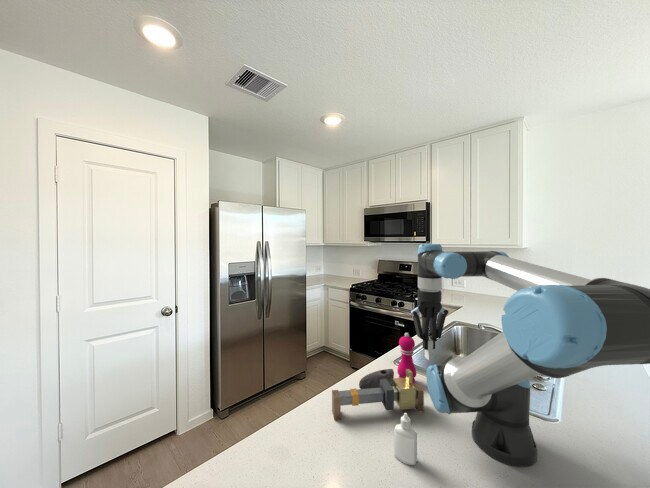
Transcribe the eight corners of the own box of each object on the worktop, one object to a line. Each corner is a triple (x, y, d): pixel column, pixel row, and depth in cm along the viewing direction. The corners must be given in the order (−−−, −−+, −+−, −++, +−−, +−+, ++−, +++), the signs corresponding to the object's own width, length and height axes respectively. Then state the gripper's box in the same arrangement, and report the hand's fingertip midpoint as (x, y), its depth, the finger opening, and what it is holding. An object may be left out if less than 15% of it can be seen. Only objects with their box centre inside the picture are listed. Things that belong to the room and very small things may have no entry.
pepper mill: (417, 388, 101) (417, 336, 100) (397, 386, 102) (398, 335, 101) (415, 378, 108) (415, 330, 107) (396, 377, 109) (396, 329, 109)
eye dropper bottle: (407, 470, 66) (407, 423, 65) (391, 454, 71) (391, 409, 70) (419, 463, 68) (420, 417, 67) (403, 447, 73) (403, 405, 72)
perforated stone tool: (361, 397, 96) (361, 378, 96) (356, 388, 101) (356, 371, 101) (398, 390, 100) (398, 372, 99) (391, 383, 105) (391, 365, 104)
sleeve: (406, 395, 92) (406, 366, 92) (415, 408, 86) (415, 376, 86) (392, 397, 92) (392, 367, 92) (400, 409, 85) (400, 377, 85)
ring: (386, 397, 92) (386, 378, 91) (393, 410, 85) (393, 389, 85) (379, 398, 91) (379, 379, 91) (386, 410, 85) (386, 390, 85)
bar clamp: (417, 403, 92) (417, 382, 92) (423, 411, 88) (423, 390, 87) (332, 410, 88) (332, 389, 88) (334, 420, 84) (334, 397, 83)
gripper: (441, 286, 94) (440, 352, 95) (406, 287, 92) (405, 354, 93) (454, 291, 86) (453, 362, 87) (416, 292, 85) (415, 365, 85)
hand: (428, 358), depth 90 cm, fingers closed
